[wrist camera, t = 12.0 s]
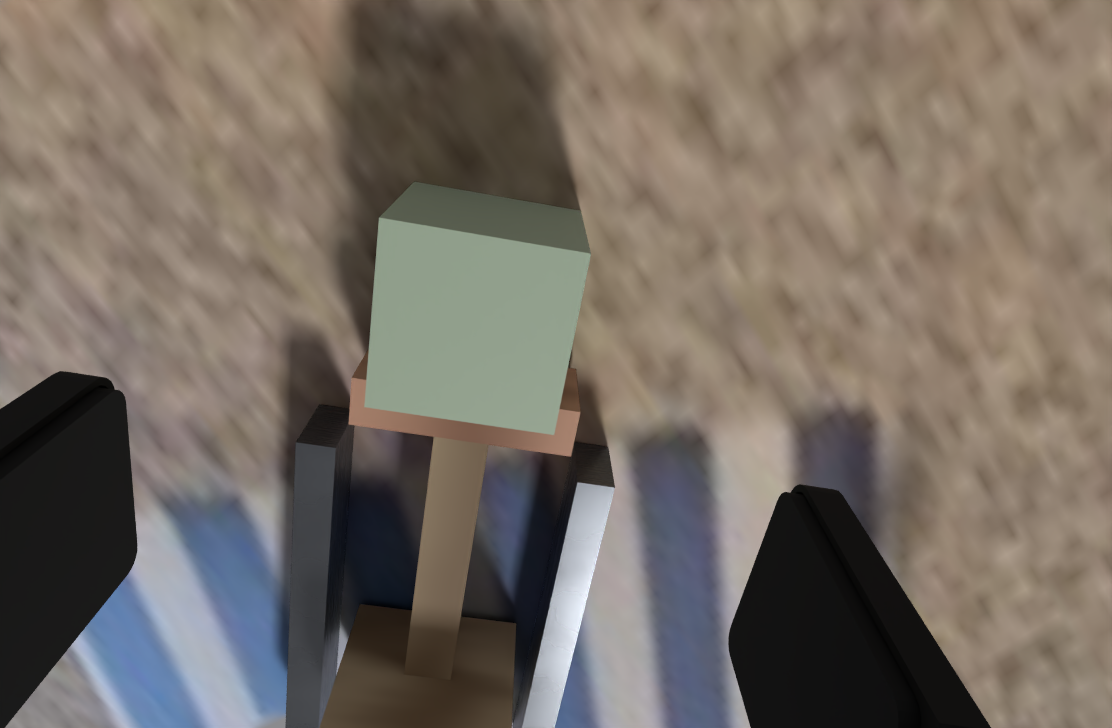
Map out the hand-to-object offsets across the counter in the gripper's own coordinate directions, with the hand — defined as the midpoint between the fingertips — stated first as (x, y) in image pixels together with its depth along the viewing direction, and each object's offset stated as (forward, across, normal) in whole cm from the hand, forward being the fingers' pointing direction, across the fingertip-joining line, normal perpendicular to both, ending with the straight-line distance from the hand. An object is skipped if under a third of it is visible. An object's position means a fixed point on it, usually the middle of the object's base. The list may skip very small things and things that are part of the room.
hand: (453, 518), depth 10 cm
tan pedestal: (+12, 0, +10) cm, 16 cm away
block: (+13, +1, 0) cm, 13 cm away
